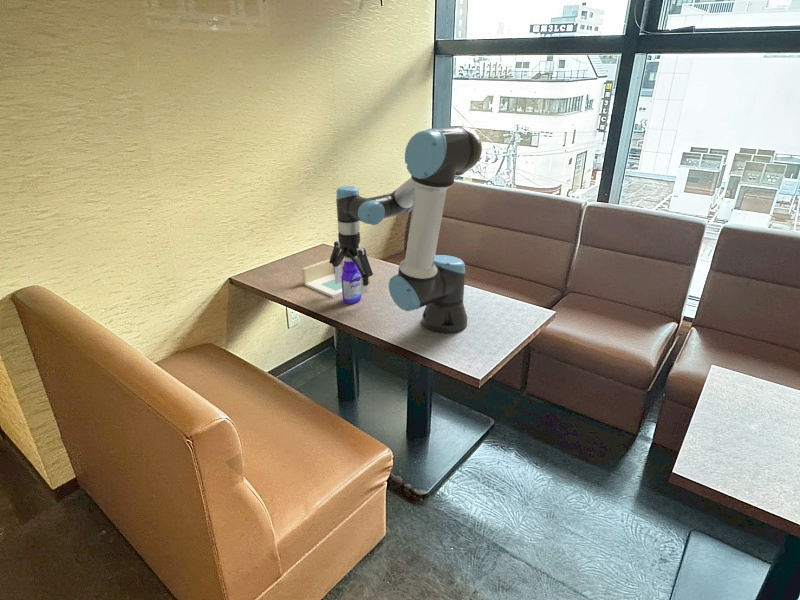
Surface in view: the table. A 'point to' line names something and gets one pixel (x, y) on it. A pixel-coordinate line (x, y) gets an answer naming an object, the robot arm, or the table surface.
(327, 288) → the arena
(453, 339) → the table surface
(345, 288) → the bottle
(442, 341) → the table surface
